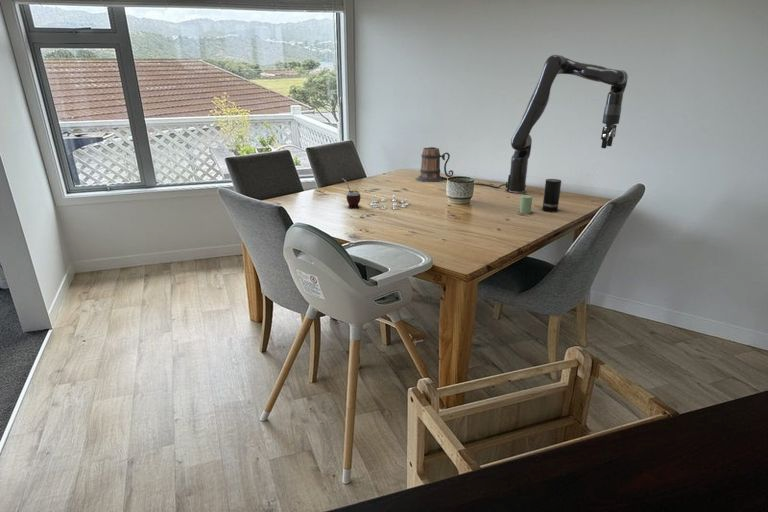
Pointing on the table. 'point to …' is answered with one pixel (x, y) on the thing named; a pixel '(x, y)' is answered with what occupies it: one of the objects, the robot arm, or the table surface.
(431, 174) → the tankard
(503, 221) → the table surface
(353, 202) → the mate gourd
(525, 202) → the cap
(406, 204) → the game piece set
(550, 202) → the thermos
